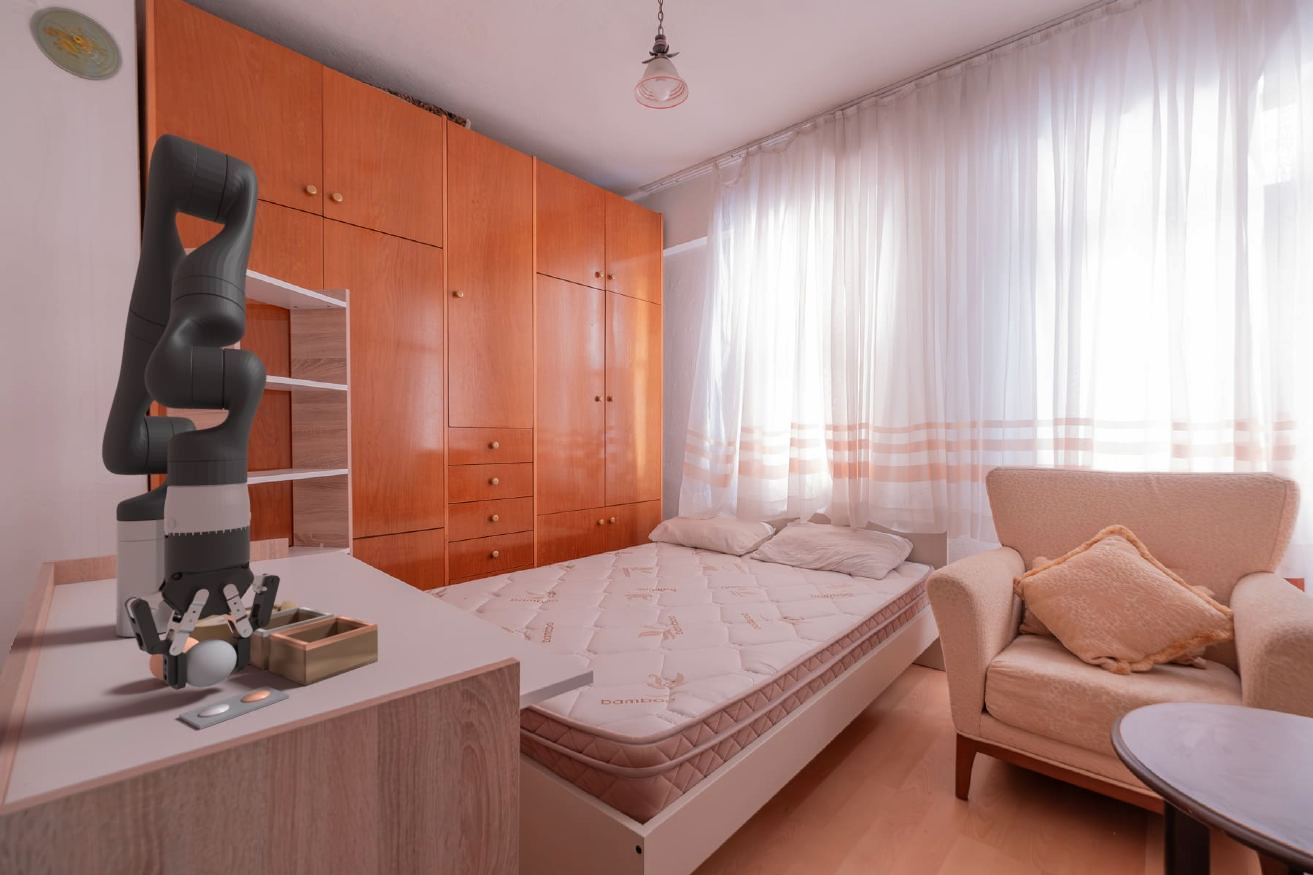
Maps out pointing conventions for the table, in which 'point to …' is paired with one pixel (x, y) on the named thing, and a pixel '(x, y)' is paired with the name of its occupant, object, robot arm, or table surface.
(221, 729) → the table surface
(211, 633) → the alarm clock
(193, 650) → the grey ball
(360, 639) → the terracotta-rimmed square box
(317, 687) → the table surface
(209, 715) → the card
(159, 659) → the terracotta ball
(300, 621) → the grey-band box
